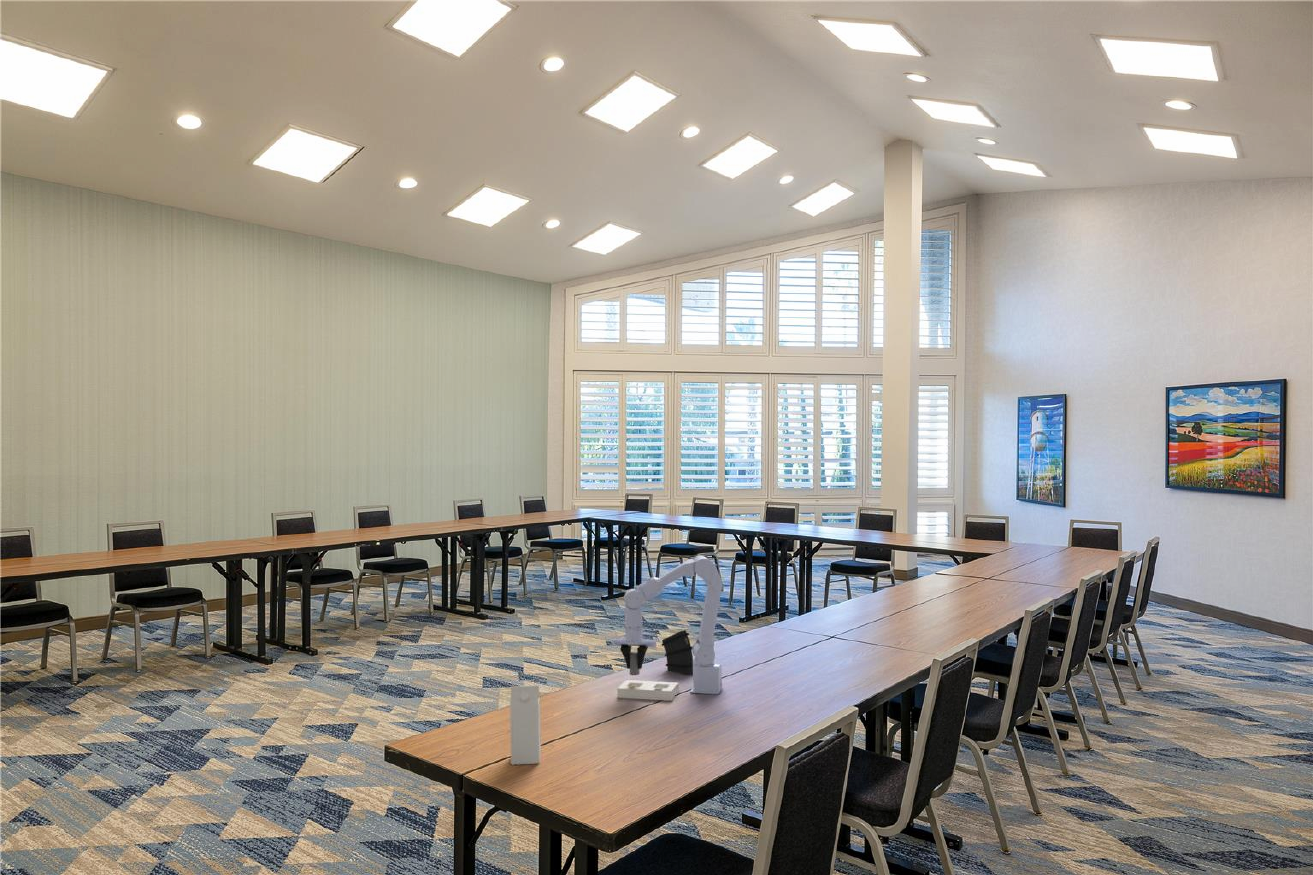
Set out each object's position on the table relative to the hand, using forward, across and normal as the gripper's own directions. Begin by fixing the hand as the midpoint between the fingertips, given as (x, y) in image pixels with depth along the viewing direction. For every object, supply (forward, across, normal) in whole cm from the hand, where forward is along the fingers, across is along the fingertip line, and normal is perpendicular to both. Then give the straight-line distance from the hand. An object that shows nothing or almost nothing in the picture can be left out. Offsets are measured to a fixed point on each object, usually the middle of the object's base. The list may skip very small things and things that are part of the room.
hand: (634, 667), depth 274 cm
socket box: (+8, +4, 0) cm, 10 cm away
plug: (+2, 0, 0) cm, 2 cm away
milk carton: (+9, -12, -62) cm, 64 cm away
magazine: (+9, +8, +30) cm, 32 cm away
